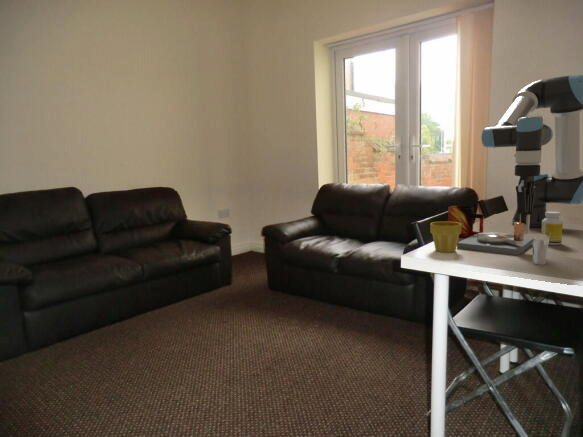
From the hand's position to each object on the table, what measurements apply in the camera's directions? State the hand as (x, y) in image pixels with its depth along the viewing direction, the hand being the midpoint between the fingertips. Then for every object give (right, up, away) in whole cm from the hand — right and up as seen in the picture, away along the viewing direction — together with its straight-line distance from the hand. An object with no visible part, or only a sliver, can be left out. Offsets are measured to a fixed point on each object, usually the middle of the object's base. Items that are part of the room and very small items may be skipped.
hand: (524, 233), depth 145 cm
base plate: (-6, -5, +8) cm, 11 cm away
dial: (-5, -3, +5) cm, 8 cm away
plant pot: (-26, -7, +4) cm, 27 cm away
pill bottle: (+16, -4, +11) cm, 19 cm away
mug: (-8, -2, +29) cm, 30 cm away
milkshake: (-4, -9, -17) cm, 19 cm away
